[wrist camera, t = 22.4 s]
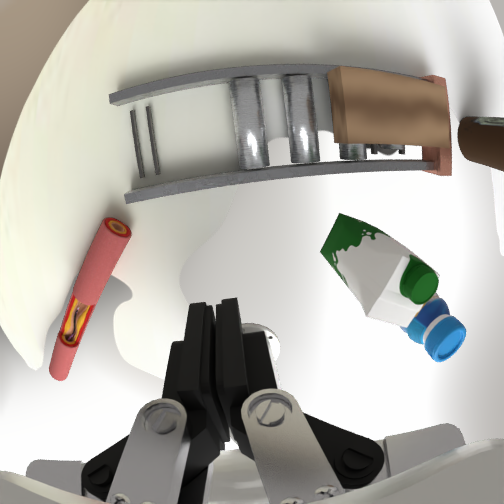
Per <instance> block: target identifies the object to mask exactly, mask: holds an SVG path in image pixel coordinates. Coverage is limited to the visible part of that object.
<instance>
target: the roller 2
mask: <svg viewBox="0 0 504 504" xmlns="http://www.w3.org/2000/svg"><path fill="white" fill-rule="evenodd" d="M282 85H283V93H284V101H285V109H286V117H287V126H288V135H289V144H290V153H291V162H292V163H313V162H319V161H320V155H319V142H318V131H317V122H316V113H315V104H314V96H313V88H312V81H311V77H310V76H305V75H296V76H288V77H285V78H282Z"/></svg>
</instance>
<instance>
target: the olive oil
mask: <svg viewBox="0 0 504 504" xmlns="http://www.w3.org/2000/svg"><path fill="white" fill-rule="evenodd" d="M458 143H459V147H460V150H461V152H462V154H463V155H464V157H465V158H466V159H467V160H469V161H472V162H476V163H479V164H483V165H486V166H489V167H492V168H495V169H498V170H501V171H503V172H504V118H500V117H465V118H463V119H462V120H461V122H460V124H459V127H458Z"/></svg>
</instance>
